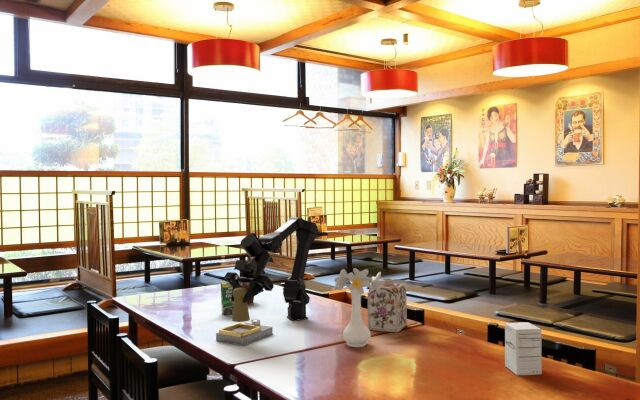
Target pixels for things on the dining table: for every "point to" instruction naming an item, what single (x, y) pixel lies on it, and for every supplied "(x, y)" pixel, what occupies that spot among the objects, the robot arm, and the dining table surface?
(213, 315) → the dining table surface
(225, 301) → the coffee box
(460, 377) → the dining table surface
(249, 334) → the grey base with knob
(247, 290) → the muffin
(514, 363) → the supplement box
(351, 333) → the flower vase
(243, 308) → the cork
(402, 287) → the decorative jar
